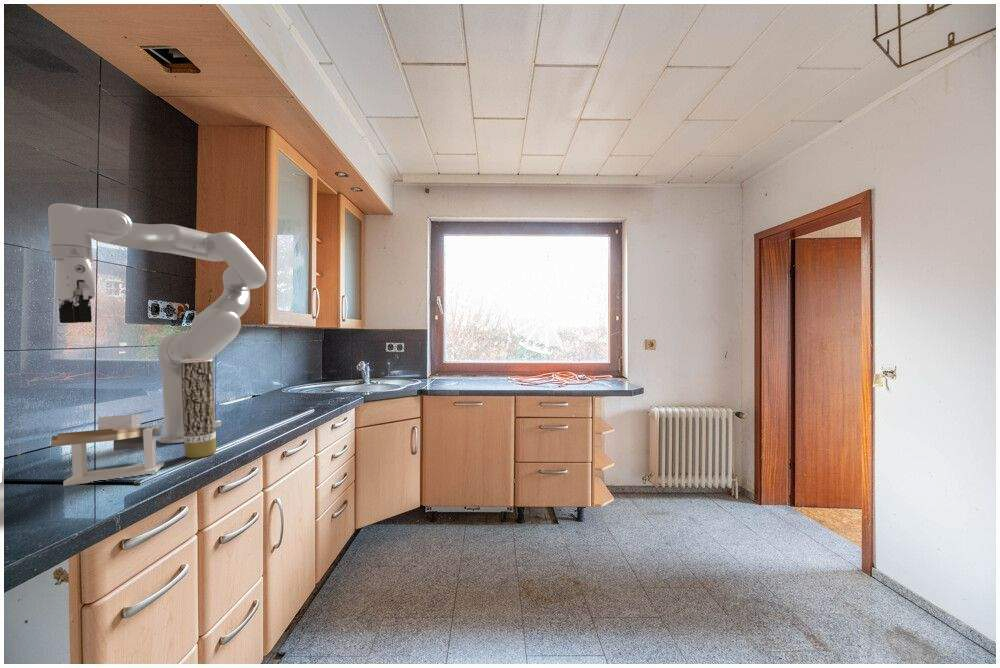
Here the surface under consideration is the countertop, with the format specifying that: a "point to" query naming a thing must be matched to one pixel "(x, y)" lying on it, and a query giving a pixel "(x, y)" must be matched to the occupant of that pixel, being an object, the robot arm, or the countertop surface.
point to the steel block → (120, 422)
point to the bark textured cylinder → (198, 407)
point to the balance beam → (104, 437)
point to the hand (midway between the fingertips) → (75, 322)
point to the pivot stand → (86, 476)
